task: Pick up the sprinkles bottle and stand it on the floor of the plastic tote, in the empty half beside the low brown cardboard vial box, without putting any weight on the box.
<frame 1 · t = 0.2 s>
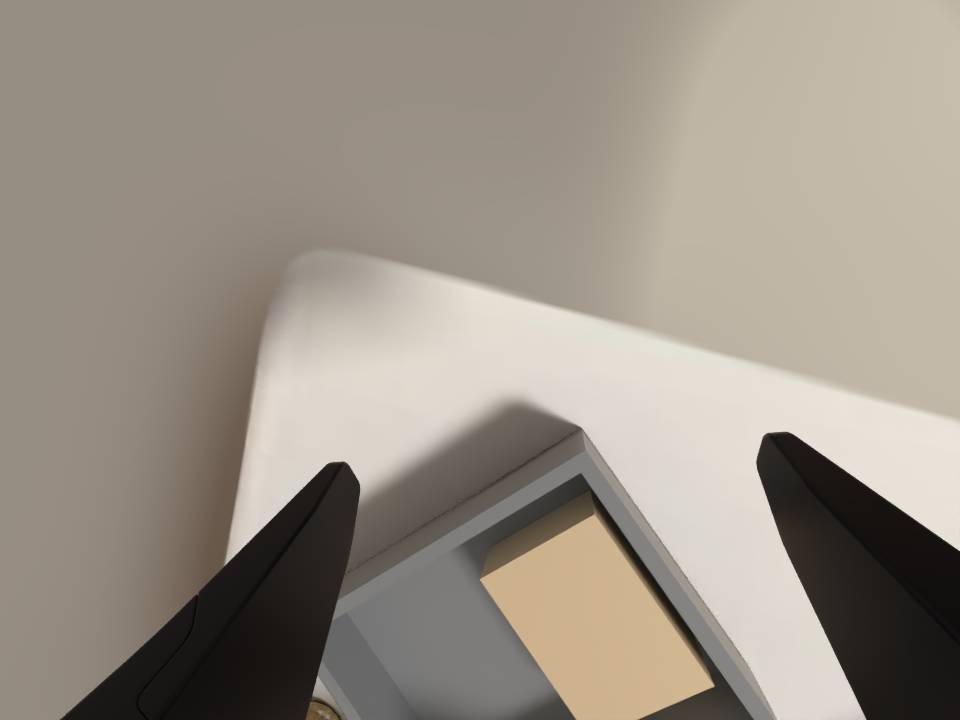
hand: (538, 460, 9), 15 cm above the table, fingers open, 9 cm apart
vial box: (588, 592, 24), point 1 cm above the table, touching tote
tote: (518, 622, 26), on the table
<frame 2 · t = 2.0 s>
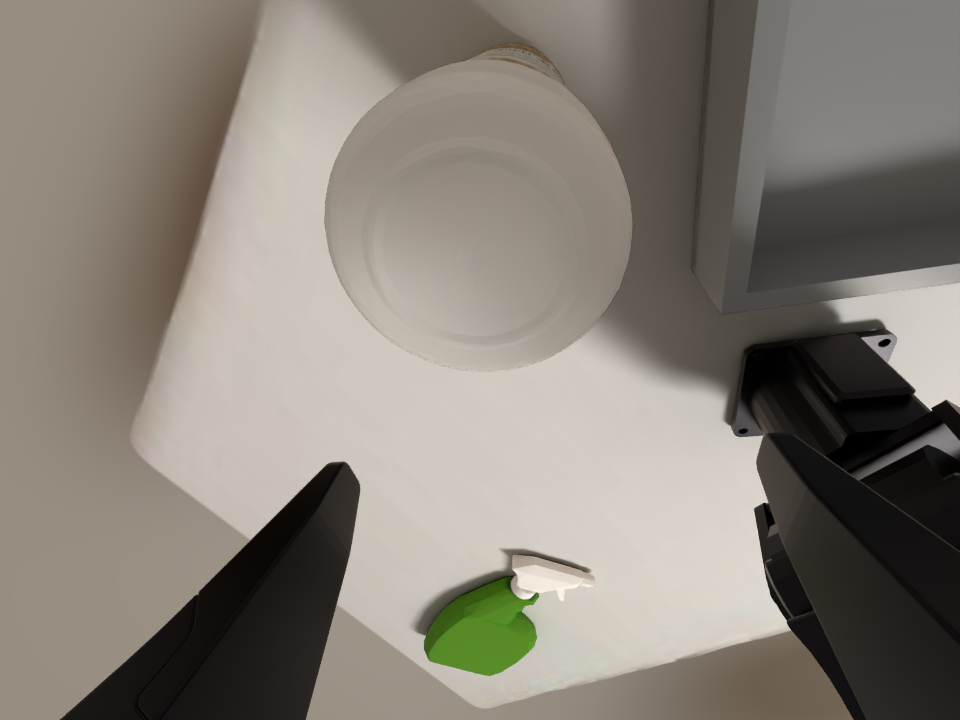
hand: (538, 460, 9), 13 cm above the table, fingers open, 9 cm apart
spray bottle: (500, 602, 45), on the table
sprinkles bottle: (511, 113, 17), on the table
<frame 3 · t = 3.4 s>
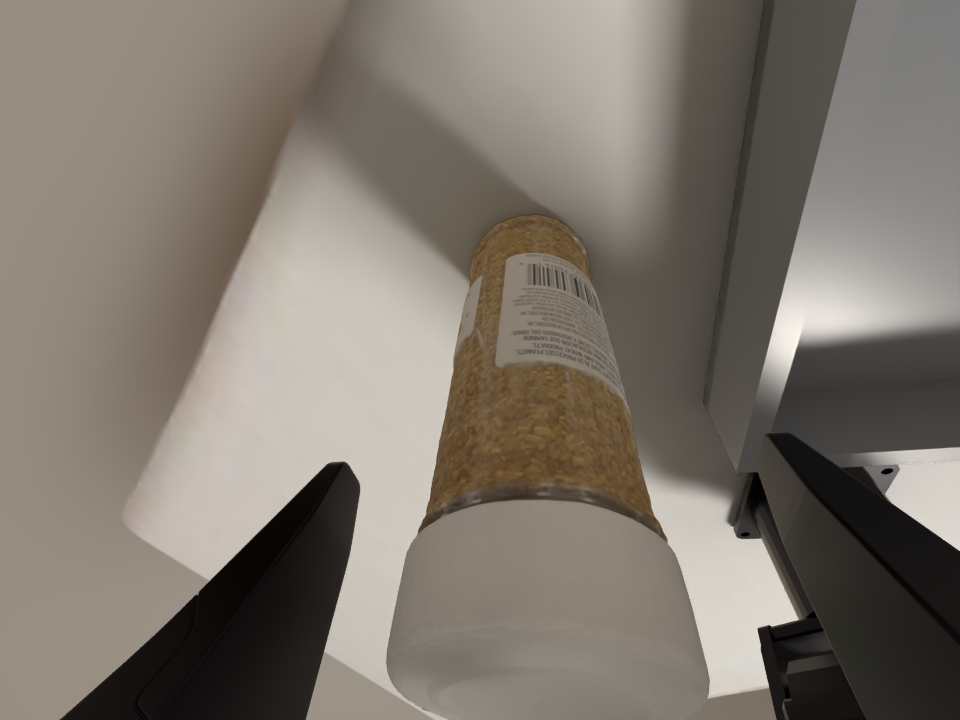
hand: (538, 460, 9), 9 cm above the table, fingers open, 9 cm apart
sprinkles bottle: (530, 267, 17), on the table
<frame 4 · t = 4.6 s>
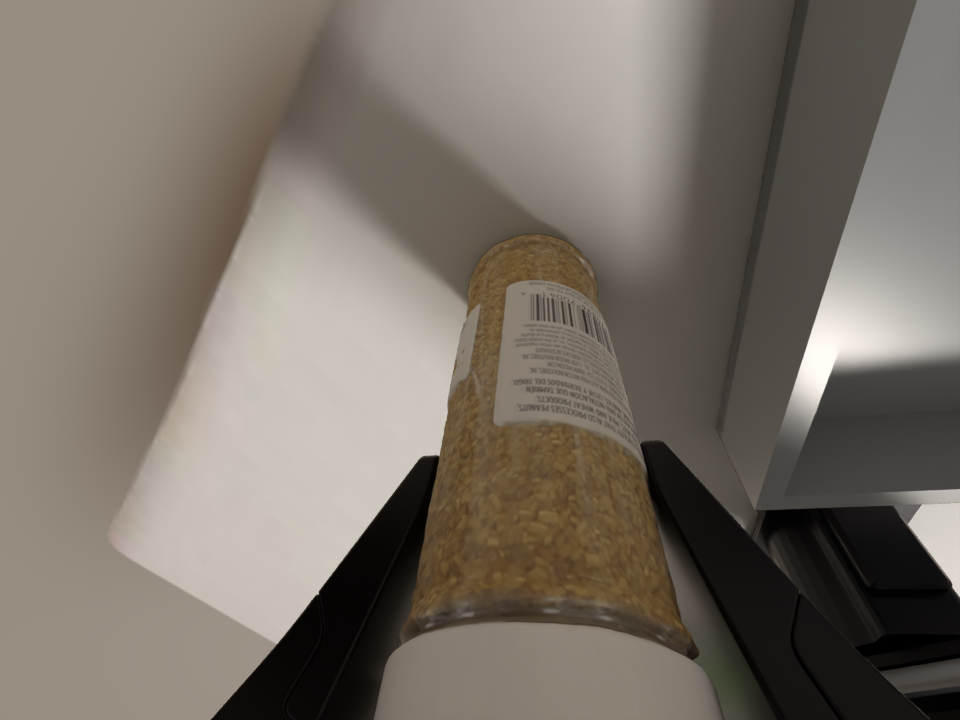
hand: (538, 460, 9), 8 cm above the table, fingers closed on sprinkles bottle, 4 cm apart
sprinkles bottle: (533, 288, 15), on the table, touching gripper
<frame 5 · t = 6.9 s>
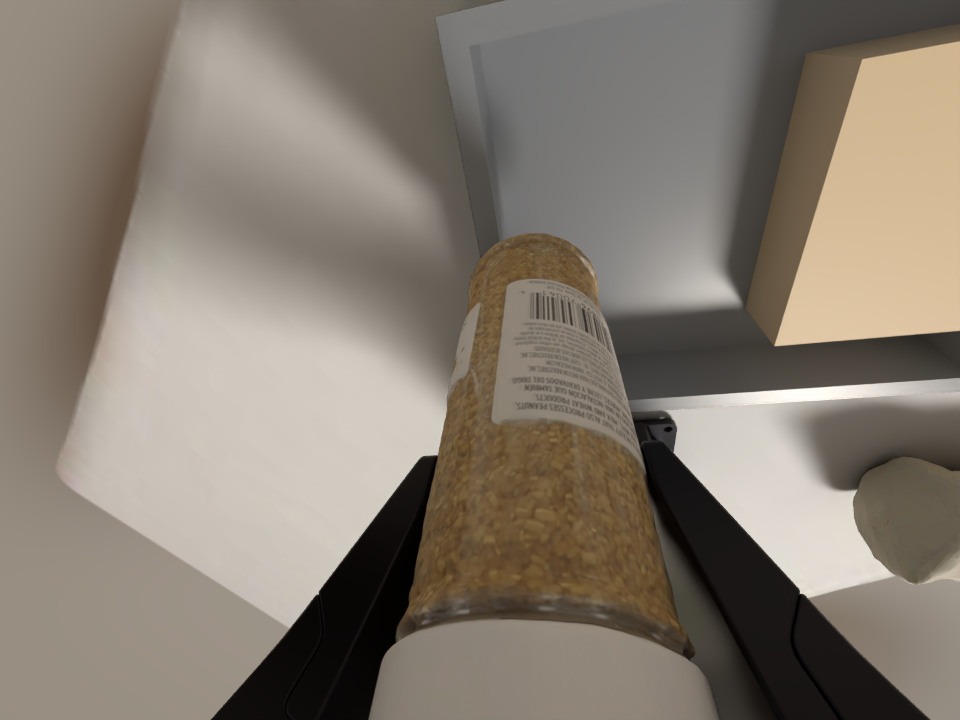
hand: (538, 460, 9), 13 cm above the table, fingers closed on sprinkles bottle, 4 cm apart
ceramic sculpture: (947, 476, 28), on the table
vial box: (869, 189, 17), point 1 cm above the table, touching tote
sprinkles bottle: (533, 287, 15), point 5 cm above the table, touching gripper
tote: (724, 203, 18), on the table
when the fingers open (9 cm above the table, at t = 9.2 s): sprinkles bottle drops 1 cm, resting on tote.
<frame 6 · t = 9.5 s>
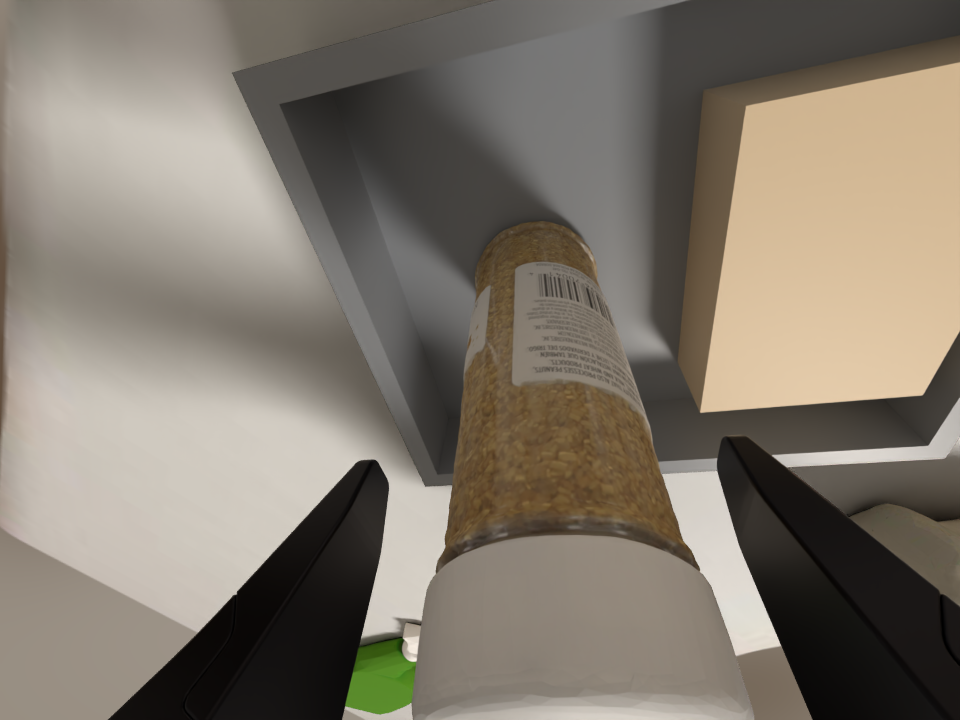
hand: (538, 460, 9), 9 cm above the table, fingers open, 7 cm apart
ceramic sculpture: (937, 523, 25), on the table
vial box: (798, 236, 14), point 1 cm above the table, touching tote
spray bottle: (395, 653, 48), on the table
sprinkles bottle: (536, 273, 16), resting on tote
tote: (640, 252, 16), on the table
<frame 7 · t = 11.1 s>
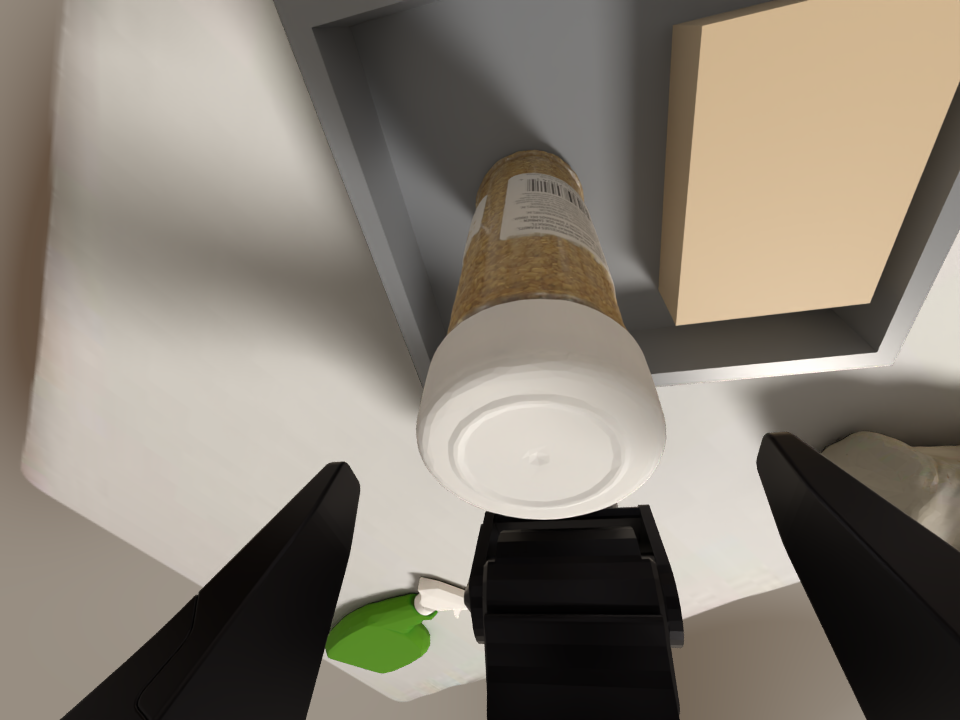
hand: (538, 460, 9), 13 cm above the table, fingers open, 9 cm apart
ceramic sculpture: (907, 455, 27), on the table
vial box: (760, 163, 16), point 1 cm above the table, touching tote
spray bottle: (402, 611, 50), on the table
sprinkles bottle: (530, 203, 18), resting on tote
tote: (622, 183, 18), on the table
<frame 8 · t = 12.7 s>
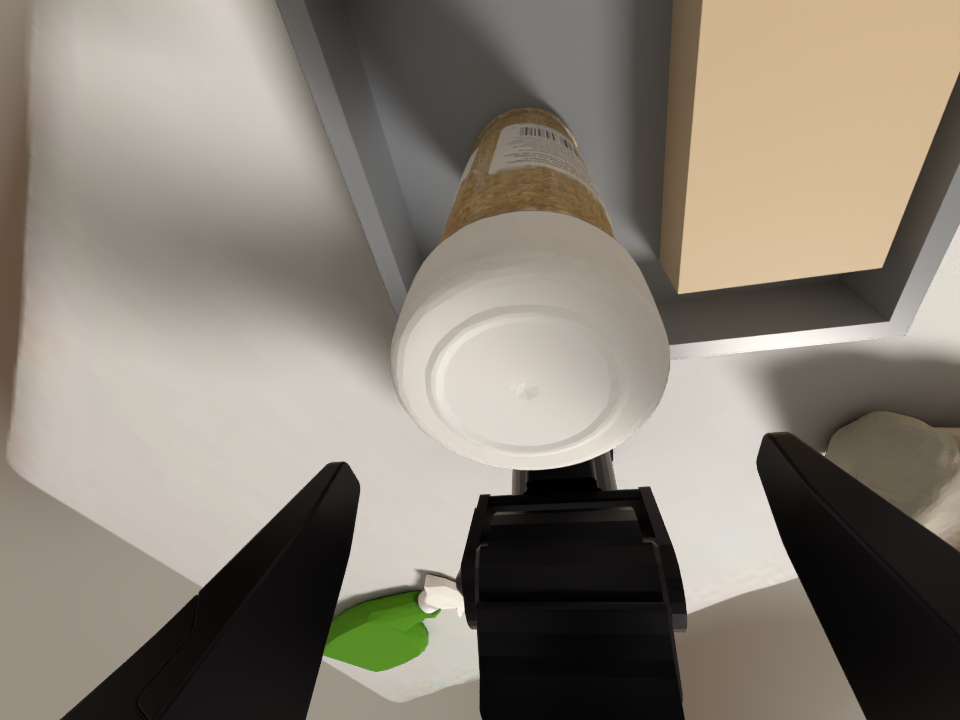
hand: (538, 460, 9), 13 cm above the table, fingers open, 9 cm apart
ceramic sculpture: (921, 438, 26), on the table
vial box: (766, 121, 16), point 1 cm above the table, touching tote
spray bottle: (402, 609, 49), on the table
sprinkles bottle: (525, 168, 17), resting on tote
tote: (622, 146, 17), on the table
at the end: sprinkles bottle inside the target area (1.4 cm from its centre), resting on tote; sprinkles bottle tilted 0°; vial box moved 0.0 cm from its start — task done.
